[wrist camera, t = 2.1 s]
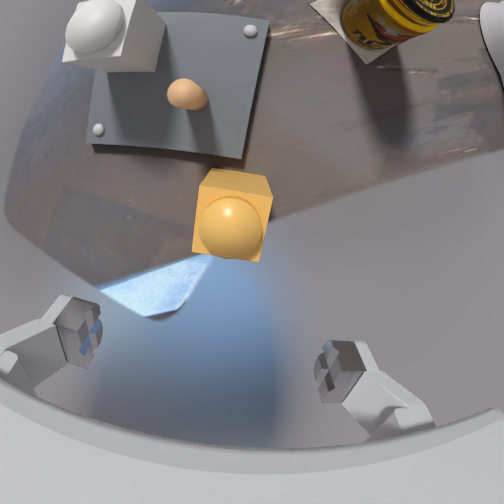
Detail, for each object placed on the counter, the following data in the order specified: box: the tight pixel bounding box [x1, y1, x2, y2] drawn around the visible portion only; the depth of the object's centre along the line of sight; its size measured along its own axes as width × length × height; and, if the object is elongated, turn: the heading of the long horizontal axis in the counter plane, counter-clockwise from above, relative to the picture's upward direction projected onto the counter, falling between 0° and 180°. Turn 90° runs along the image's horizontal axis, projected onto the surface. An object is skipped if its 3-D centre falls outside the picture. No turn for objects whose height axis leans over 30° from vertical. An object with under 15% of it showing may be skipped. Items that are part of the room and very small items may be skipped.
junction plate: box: [62, 0, 270, 159], centre depth 18 cm, size 16×14×10 cm
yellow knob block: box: [192, 167, 273, 262], centre depth 24 cm, size 5×5×9 cm
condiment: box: [310, 0, 455, 65], centre depth 14 cm, size 7×8×12 cm
